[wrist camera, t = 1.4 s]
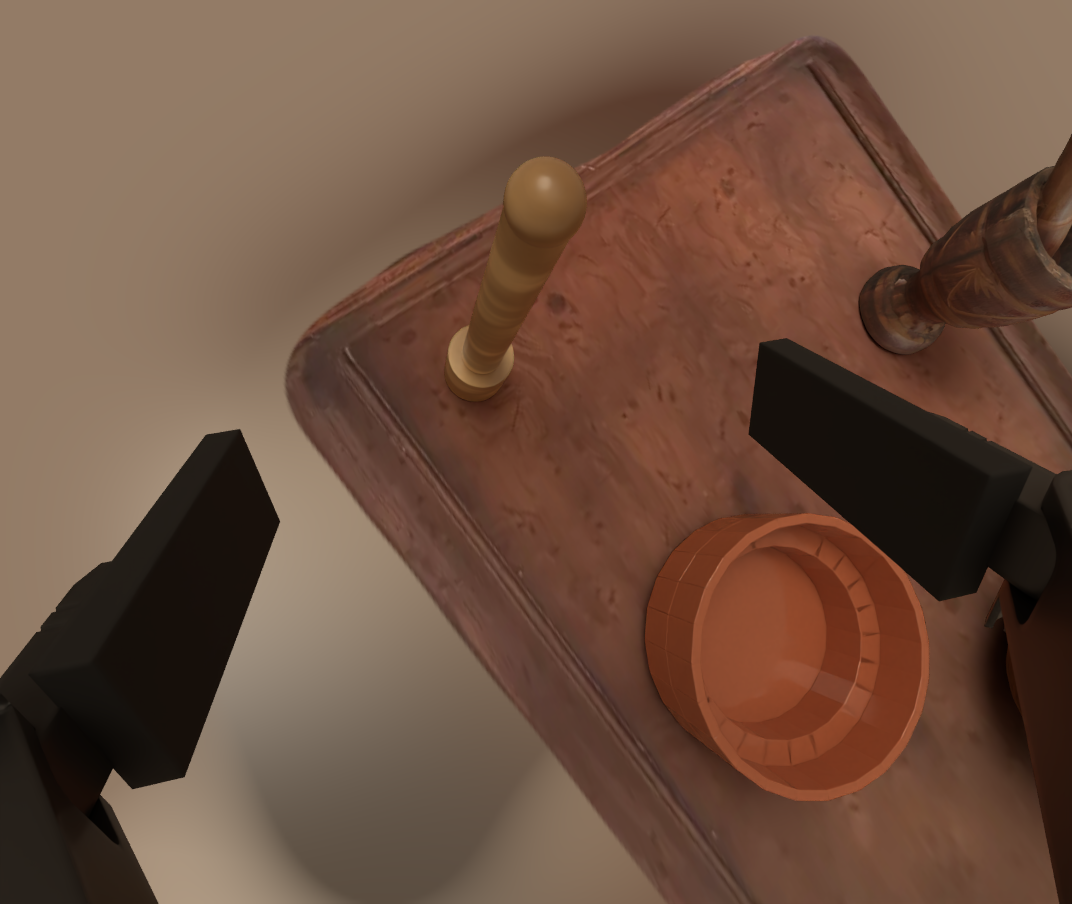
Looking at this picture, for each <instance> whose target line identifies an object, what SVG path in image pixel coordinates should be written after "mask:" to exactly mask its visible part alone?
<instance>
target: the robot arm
mask: <svg viewBox="0 0 1072 904" xmlns="http://www.w3.org/2000/svg"><path fill="white" fill-rule="evenodd" d="M749 435H750V436H751V437H752V438H753V439H755V440H756V441H757V442H758V443H759V444H760V445H761V446H762V447H764V448H765V449H766V450H767V451H768V452H769V453H770V454H772V455H773V456H774V457H775V458H776V459H777V460H778V461H780V462H781V463H782V464H783V465H784V466H785V467H786V468H788V469H789V470H790V471H791V472H792V473H793V474H794V475H796V476H797V477H798V478H799V479H800V480H801V481H802V482H804V483H805V484H806V485H807V486H808V487H809V488H810V489H812V490H813V491H814V492H815V493H816V494H817V495H818V496H820V497H821V498H822V499H823V500H824V501H825V502H826V503H828V504H829V505H830V506H831V507H832V508H833V509H834V510H836V511H837V512H838V513H839V514H840V515H841V516H842V517H843V518H845V519H846V520H847V521H848V522H849V523H850V524H851V525H853V526H854V527H855V528H856V529H857V530H858V531H859V532H861V533H862V534H863V535H864V536H865V537H866V538H867V539H869V540H870V541H871V542H872V543H873V544H874V545H875V546H877V547H878V548H879V549H880V550H881V551H882V552H883V553H885V554H886V555H887V556H888V557H889V558H890V559H891V560H893V561H894V562H895V563H896V564H897V565H898V566H899V567H901V568H902V569H903V570H904V571H905V572H906V573H907V574H909V575H910V576H911V577H912V578H913V579H914V580H915V581H916V582H918V583H919V584H920V585H921V586H922V587H923V588H924V589H926V590H927V591H928V592H929V593H930V594H931V595H932V596H934V597H935V598H936V599H937V600H938V601H943V600H947V599H951V598H956V597H960V596H964V595H968V594H973V593H976V592H977V590H978V588H979V585H980V583H981V581H982V579H983V577H984V574H985V572H986V570H987V568H988V567H989V568H991V569H992V570H993V571H995V572H996V573H997V574H999V575H1000V576H1001V577H1003V578H1004V579H1005V580H1004V582H1003V584H1002V586H1001V588H1000V590H999V592H998V595H997V597H996V599H995V601H994V603H993V605H992V607H991V609H990V611H989V613H988V615H987V617H986V621H985V627H989V628H993V626H994V624H995V622H996V620H997V619H999V618H1001V617H1003V621H1004V626H1005V628H1004V629H1003V631H1004V632H1006V636H1007V641H1008V646H1009V651H1010V656H1011V661H1012V666H1013V671H1014V676H1015V681H1016V687H1017V692H1018V697H1019V702H1020V707H1021V712H1022V717H1023V722H1024V727H1025V732H1026V737H1027V742H1028V747H1029V752H1030V757H1031V762H1032V767H1033V772H1034V777H1035V782H1036V788H1037V793H1038V798H1039V803H1040V808H1041V813H1042V818H1043V823H1044V828H1045V833H1046V838H1047V843H1048V848H1049V853H1050V858H1051V863H1052V868H1053V873H1054V878H1055V883H1056V889H1057V894H1058V899H1059V904H1072V470H1070V471H1062V472H1061V473H1059V474H1055V473H1053V472H1051V471H1049V470H1047V469H1045V468H1043V467H1041V466H1039V465H1037V464H1035V463H1033V462H1031V461H1029V460H1028V459H1026V458H1024V457H1022V456H1020V455H1018V454H1016V453H1014V452H1012V451H1010V450H1008V449H1006V448H1004V447H1002V446H1000V445H998V444H996V443H995V442H993V441H987V438H985V437H983V436H981V435H979V434H977V433H975V432H973V431H970V432H969V431H968V429H967V428H965V427H964V426H962V425H960V424H958V423H956V422H954V421H952V420H950V419H948V418H946V417H943V416H940V415H937V414H934V413H930V412H927V411H925V410H923V409H921V408H919V407H917V406H915V405H913V404H911V403H909V402H908V401H906V400H904V399H902V398H900V397H898V396H896V395H894V394H892V393H890V392H888V391H887V390H885V389H883V388H881V387H879V386H877V385H875V384H873V383H871V382H869V381H867V380H866V379H864V378H862V377H860V376H858V375H856V374H854V373H852V372H850V371H848V370H846V369H844V368H843V367H841V366H839V365H837V364H835V363H833V362H831V361H829V360H827V359H825V358H823V357H822V356H820V355H818V354H816V353H814V352H812V351H810V350H808V349H806V348H804V347H802V346H801V345H799V344H797V343H795V342H793V341H791V340H789V339H787V338H785V339H779V340H773V341H767V342H761V343H760V344H759V352H758V361H757V369H756V377H755V385H754V394H753V402H752V410H751V418H750V427H749ZM279 523H280V520H279V518H278V515H277V513H276V511H275V509H274V506H273V504H272V502H271V499H270V497H269V495H268V492H267V490H266V488H265V486H264V483H263V481H262V479H261V476H260V474H259V472H258V469H257V467H256V465H255V462H254V460H253V458H252V456H251V453H250V451H249V449H248V447H247V444H246V442H245V439H244V437H243V435H242V433H241V430H240V429H238V430H232V431H226V432H220V433H214V434H207V435H205V437H204V438H203V439H202V441H201V442H200V443H199V445H198V446H197V448H196V449H195V450H194V452H193V453H192V454H191V456H190V457H189V458H188V460H187V461H186V462H185V464H184V465H183V466H182V468H181V469H180V470H179V472H178V473H177V474H176V476H175V477H174V478H173V480H172V481H171V482H170V484H169V485H168V486H167V488H166V489H165V491H164V492H163V493H162V495H161V496H160V497H159V499H158V500H157V501H156V503H155V504H154V505H153V507H152V508H151V509H150V511H149V512H148V514H147V515H146V516H145V518H144V519H143V520H142V521H141V523H140V524H139V526H138V527H137V528H136V530H135V531H134V532H133V534H132V535H131V536H130V538H129V539H128V540H127V542H126V543H125V544H124V546H123V547H122V548H121V550H120V551H119V552H118V554H117V555H116V557H115V558H114V559H113V560H112V561H110V562H105V563H101V564H100V565H98V566H97V567H96V568H95V569H93V570H92V571H91V572H89V573H88V574H87V575H86V576H84V577H83V578H82V579H81V580H79V581H78V582H77V583H76V584H75V585H73V587H72V588H71V589H70V590H69V592H68V593H67V594H66V596H65V597H64V598H63V599H62V601H61V602H60V603H59V604H58V606H57V607H56V612H53V613H51V615H50V616H49V617H48V618H47V620H46V621H45V622H44V623H43V625H42V626H41V631H40V632H36V633H35V635H34V636H33V637H32V639H31V640H30V641H29V643H28V644H27V645H26V646H25V647H24V649H23V650H22V651H21V653H20V654H19V655H18V656H17V657H16V659H15V660H14V662H13V663H12V664H11V665H10V666H9V668H8V669H7V670H6V671H5V673H4V674H3V675H2V677H1V678H0V904H158V902H157V900H156V898H155V896H154V893H153V891H152V889H151V887H150V885H149V883H148V881H147V879H146V877H145V875H144V873H143V871H142V869H141V867H140V865H139V863H138V860H137V859H136V856H135V854H134V852H133V850H132V848H131V846H130V844H129V842H128V840H127V838H126V836H125V834H124V832H123V830H122V828H121V825H120V823H119V821H118V819H117V817H116V815H115V813H114V811H113V809H112V807H111V806H110V804H108V802H107V801H106V800H105V799H104V798H103V797H102V796H101V795H100V794H101V792H102V789H103V787H104V785H105V783H106V781H107V779H108V777H109V775H110V773H111V771H112V769H114V770H115V771H116V772H117V773H118V774H119V775H120V776H121V777H122V778H123V780H124V781H125V782H126V783H127V784H128V785H129V786H130V787H131V788H132V789H135V788H139V787H144V786H148V785H153V784H157V783H161V782H165V781H170V780H174V779H178V778H183V777H185V774H186V772H187V769H188V766H189V764H190V761H191V758H192V755H193V753H194V750H195V748H196V745H197V742H198V740H199V737H200V734H201V732H202V729H203V726H204V724H205V721H206V718H207V716H208V713H209V710H210V708H211V705H212V702H213V700H214V697H215V694H216V691H217V689H218V686H219V684H220V681H221V678H222V676H223V673H224V670H225V667H226V665H227V662H228V659H229V657H230V654H231V651H232V649H233V646H234V643H235V641H236V638H237V635H238V633H239V630H240V627H241V625H242V622H243V619H244V617H245V614H246V611H247V608H248V606H249V603H250V601H251V598H252V595H253V593H254V590H255V587H256V585H257V582H258V579H259V577H260V574H261V571H262V568H263V566H264V563H265V560H266V557H267V555H268V552H269V550H270V547H271V544H272V542H273V539H274V536H275V533H276V531H277V528H278V526H279Z"/></svg>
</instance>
